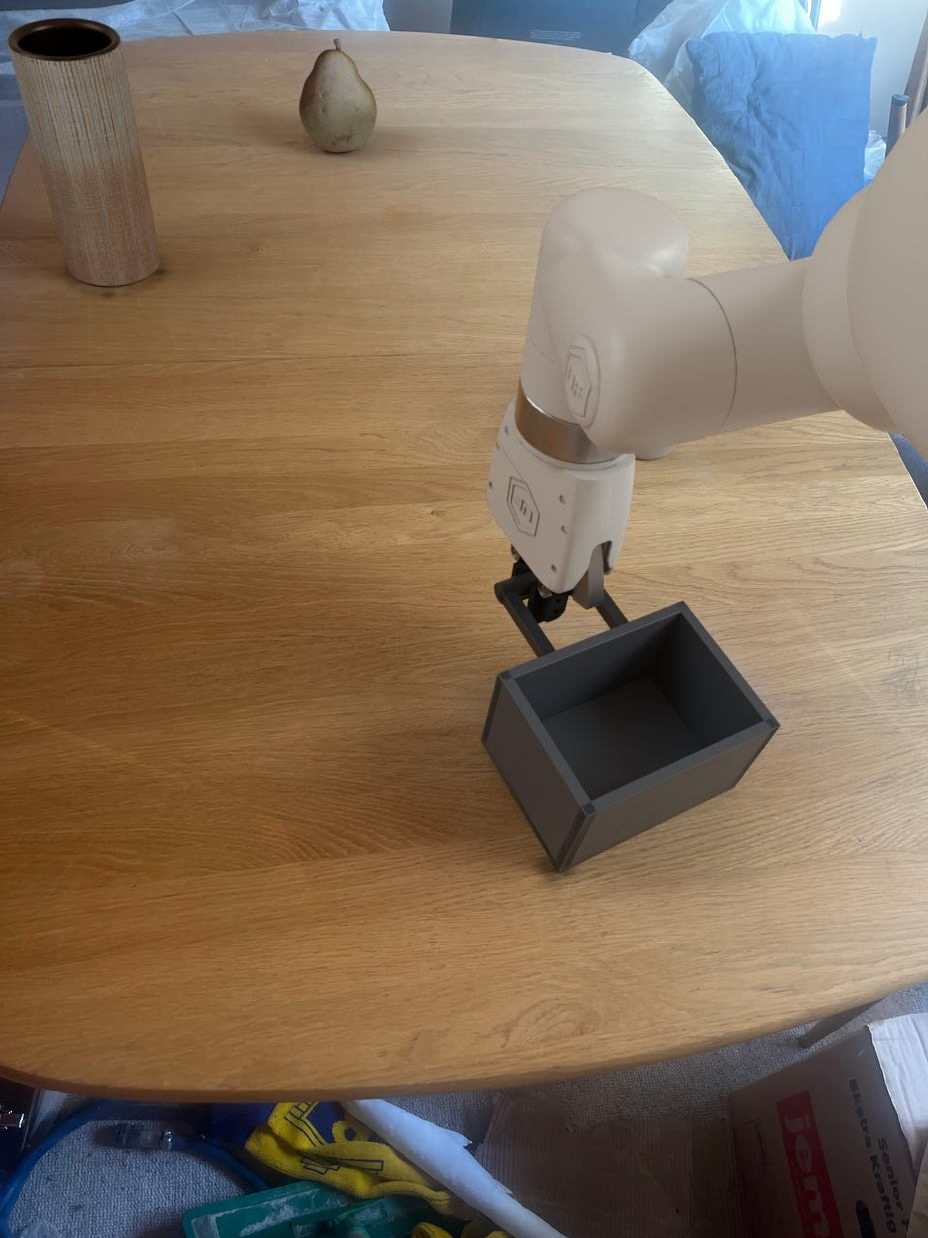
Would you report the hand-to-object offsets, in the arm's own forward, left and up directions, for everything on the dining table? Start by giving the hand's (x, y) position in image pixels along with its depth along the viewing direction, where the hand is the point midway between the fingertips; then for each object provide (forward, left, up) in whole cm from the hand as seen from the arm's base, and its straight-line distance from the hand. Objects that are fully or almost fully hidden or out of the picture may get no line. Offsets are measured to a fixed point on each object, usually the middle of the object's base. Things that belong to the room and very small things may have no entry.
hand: (535, 605), depth 71 cm
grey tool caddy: (-8, 0, -5) cm, 9 cm away
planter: (+67, +14, -6) cm, 68 cm away
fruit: (+85, -21, -6) cm, 87 cm away
